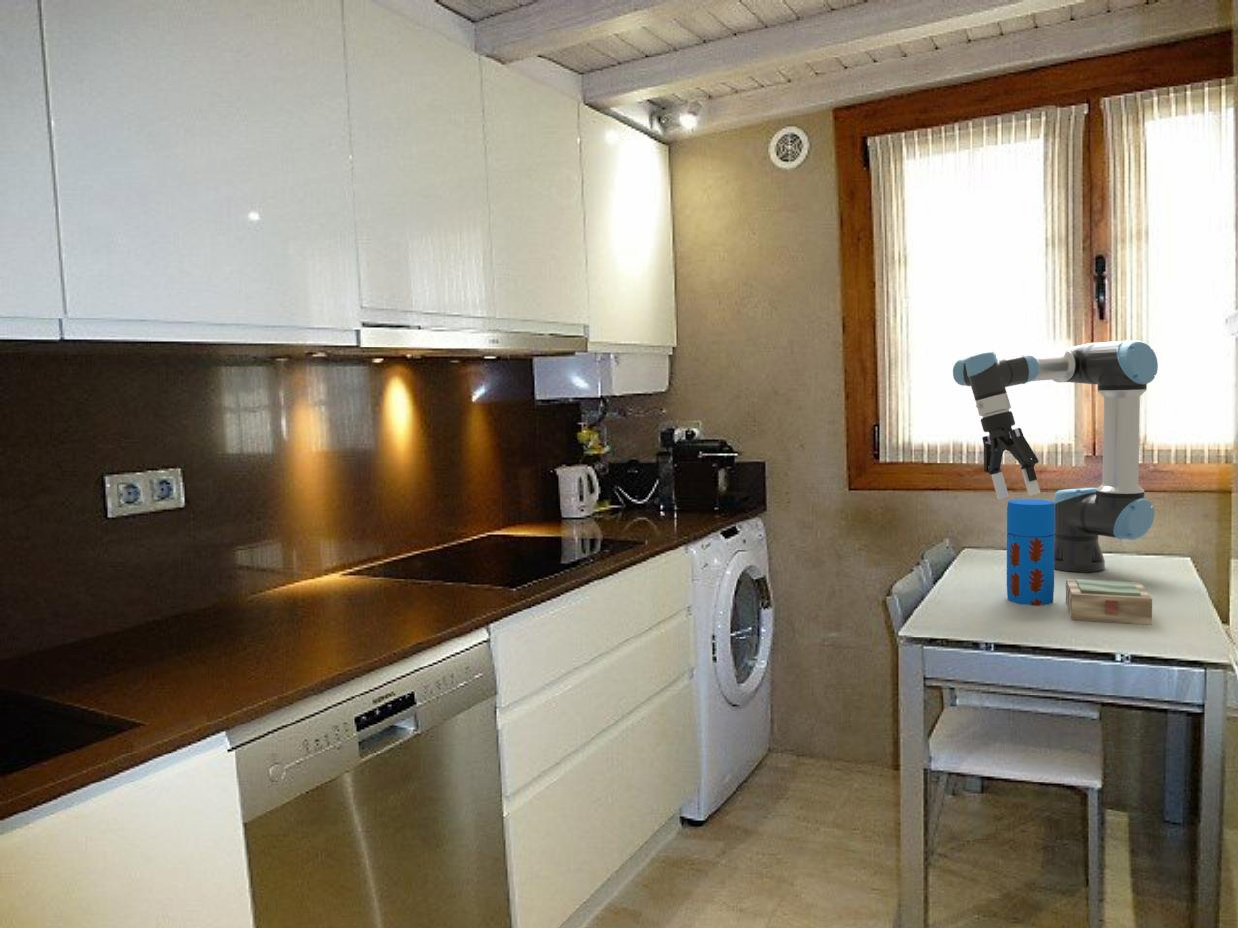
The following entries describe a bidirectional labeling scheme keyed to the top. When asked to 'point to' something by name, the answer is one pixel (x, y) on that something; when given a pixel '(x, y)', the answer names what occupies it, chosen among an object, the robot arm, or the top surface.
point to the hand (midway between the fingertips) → (1018, 496)
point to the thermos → (1030, 551)
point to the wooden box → (1108, 601)
